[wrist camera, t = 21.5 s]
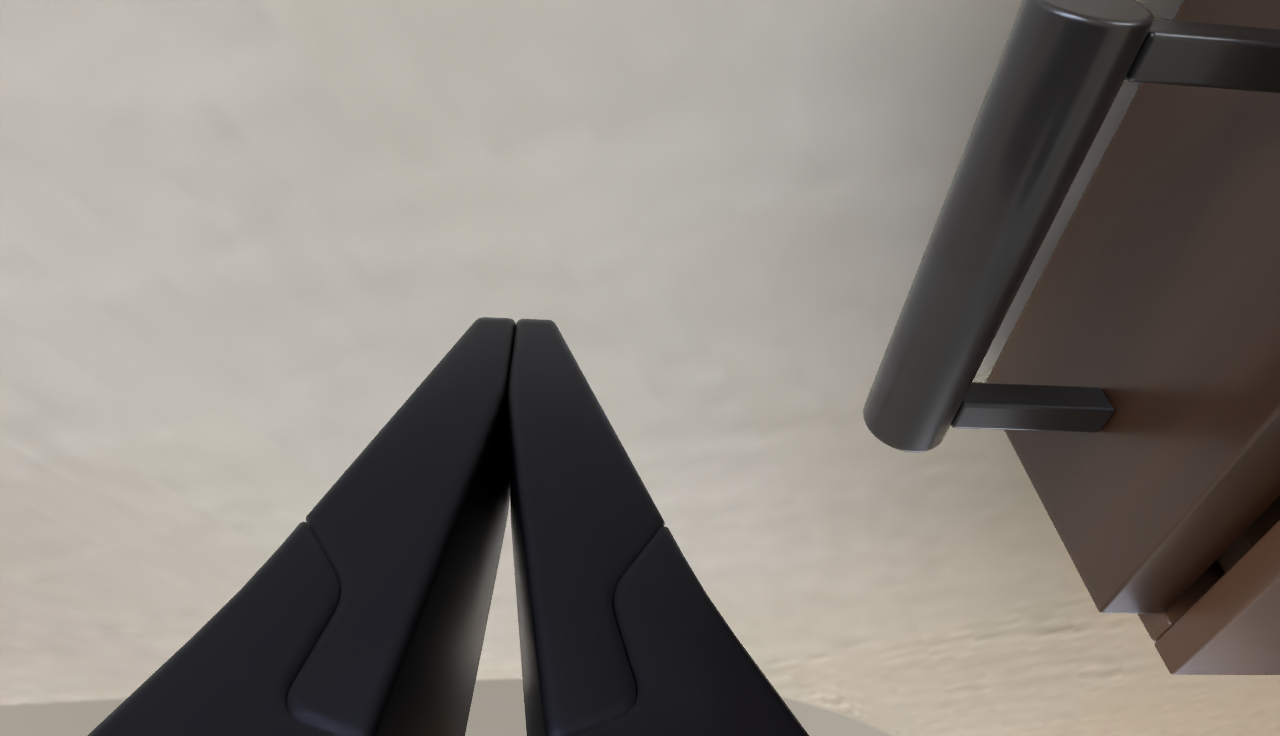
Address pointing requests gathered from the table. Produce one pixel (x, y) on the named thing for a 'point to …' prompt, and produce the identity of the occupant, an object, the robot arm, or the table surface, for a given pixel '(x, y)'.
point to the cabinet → (1225, 618)
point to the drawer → (1115, 290)
